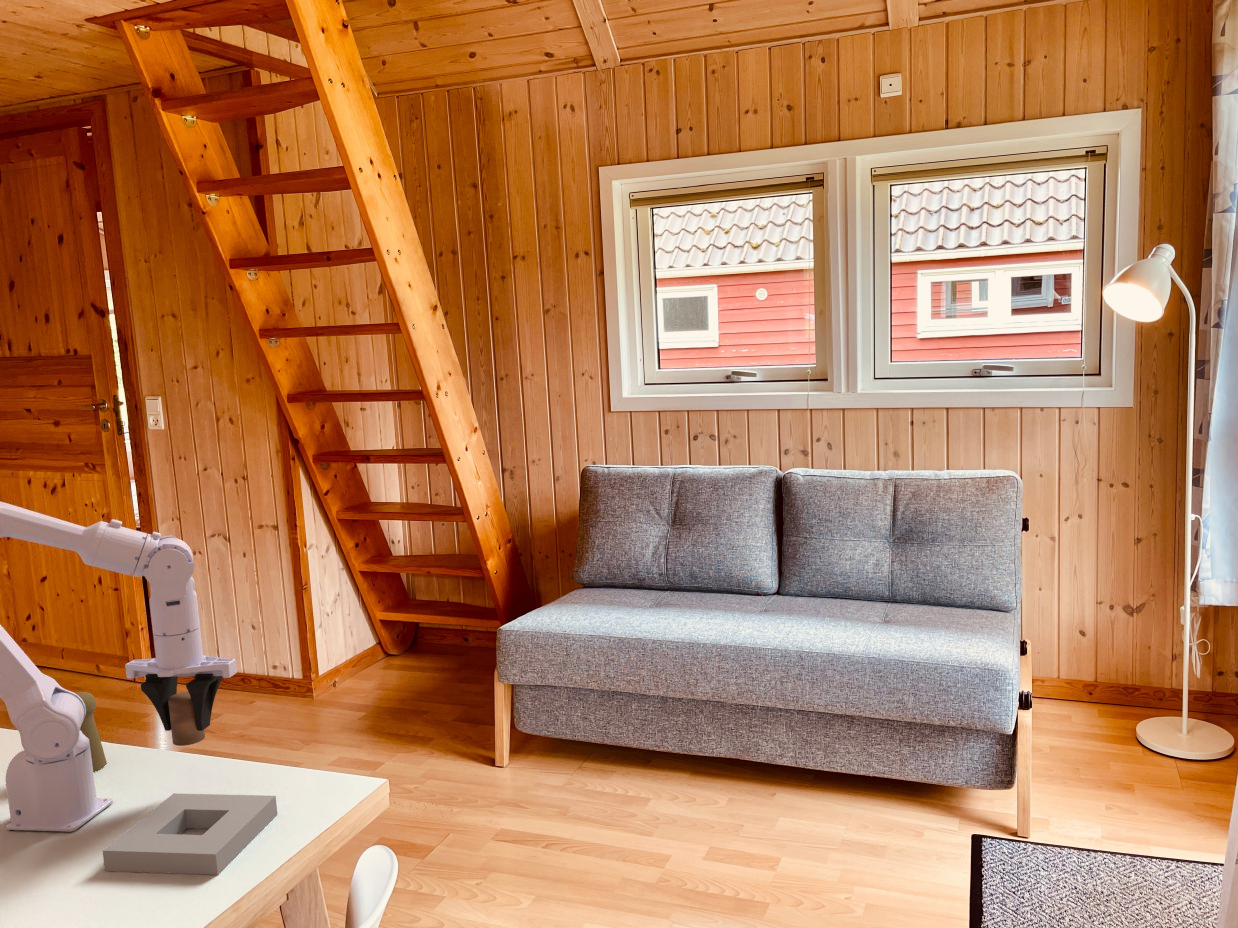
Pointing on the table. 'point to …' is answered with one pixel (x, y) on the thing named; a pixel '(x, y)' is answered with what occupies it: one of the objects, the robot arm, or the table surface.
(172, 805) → the socket block
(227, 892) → the table surface
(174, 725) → the wooden peg
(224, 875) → the table surface
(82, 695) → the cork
